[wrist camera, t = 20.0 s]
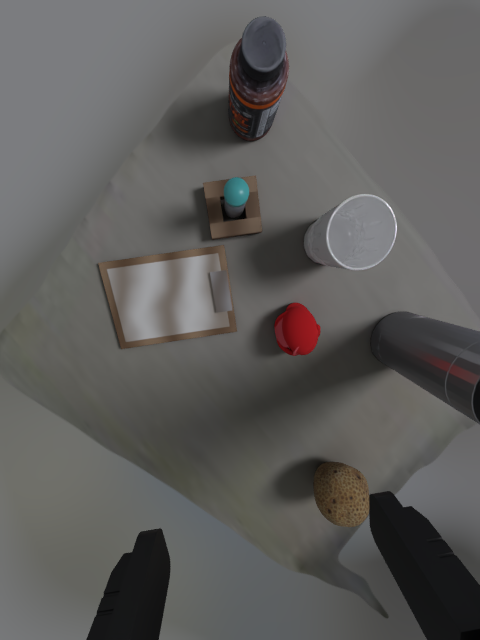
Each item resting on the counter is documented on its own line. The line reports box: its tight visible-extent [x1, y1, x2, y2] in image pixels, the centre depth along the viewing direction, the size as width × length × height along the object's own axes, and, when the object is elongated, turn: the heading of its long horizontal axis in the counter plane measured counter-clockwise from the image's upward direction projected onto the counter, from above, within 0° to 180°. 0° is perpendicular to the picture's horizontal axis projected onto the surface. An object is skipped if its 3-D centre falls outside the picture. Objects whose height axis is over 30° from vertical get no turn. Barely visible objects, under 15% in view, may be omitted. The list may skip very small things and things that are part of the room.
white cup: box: [304, 194, 397, 270], centre depth 32 cm, size 8×8×10 cm
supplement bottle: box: [228, 16, 289, 141], centre depth 27 cm, size 6×6×11 cm
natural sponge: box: [314, 462, 369, 527], centre depth 41 cm, size 9×9×10 cm
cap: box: [274, 303, 320, 356], centre depth 37 cm, size 8×6×6 cm
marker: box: [224, 177, 249, 218], centre depth 30 cm, size 3×3×9 cm
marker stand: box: [203, 176, 262, 240], centre depth 34 cm, size 7×7×2 cm
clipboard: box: [98, 245, 237, 349], centre depth 37 cm, size 18×13×1 cm
